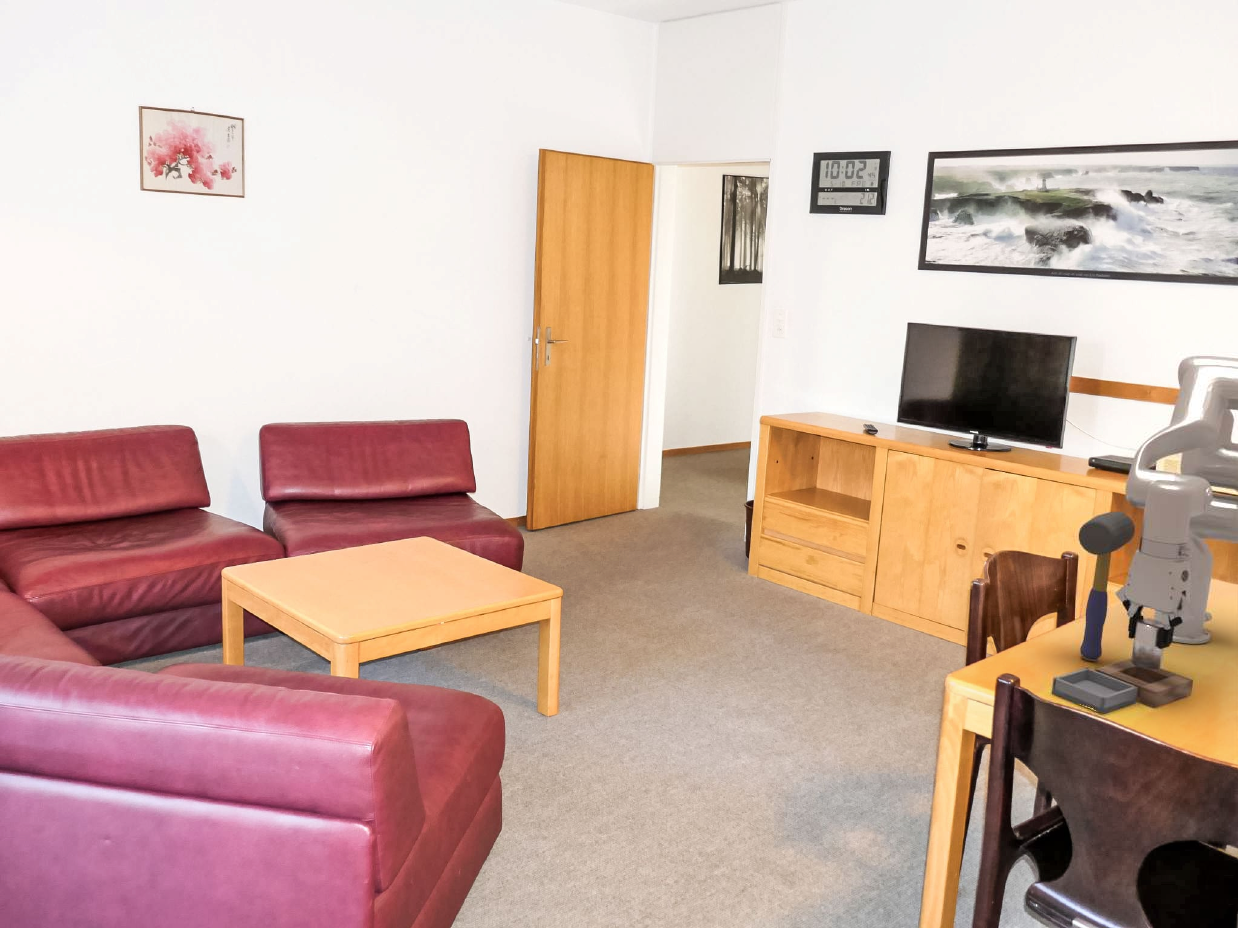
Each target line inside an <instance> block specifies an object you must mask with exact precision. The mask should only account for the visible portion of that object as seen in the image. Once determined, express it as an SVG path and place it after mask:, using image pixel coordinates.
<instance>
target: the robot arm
mask: <svg viewBox="0 0 1238 928" xmlns="http://www.w3.org/2000/svg"><path fill="white" fill-rule="evenodd" d="M1177 380H1178V385H1179V390H1178V394H1177V398H1176V401H1175V404H1174V408H1173V411H1172V415H1171V419H1170V423H1169V424H1168V426H1166V427H1164V428H1163V429H1161V430H1159V431H1158V432H1155V434H1153V435H1151V436H1150V437H1149V438H1148V439H1147V440H1146V441H1144V442H1143V443H1142V444H1141V446H1140V447H1139V448H1138V449H1137V451H1136V452H1135V454H1134V457H1133V459H1132V463H1131V466H1130V468H1129V472H1128V476H1127V479H1126V484H1125V499H1126V501H1127V502H1128V503H1129V504H1130V505H1131V506H1132V507H1135V508H1136V509H1137V508H1139V509H1143V510H1144V511H1143V518H1142V526H1141V530H1140V531H1141V532H1140V533H1141V534H1140V540H1139V545H1138V546H1139V547H1138V549H1136V550H1135V552H1134V555H1133V557H1132V559H1131V562H1130V564H1129V565H1130V566H1129V569H1128V572H1127V573H1128V574H1127V577H1126V581H1125V584H1124V585H1123V586H1122V587H1120V589H1118V590H1117V591H1116V592H1115V596H1116V597H1117V598H1118V600H1119V602H1121V603H1122V606H1123V607H1124V609H1125V610H1126V615H1127V617H1129V618H1128V619H1129V620H1128V628H1127V631H1128V639H1130V640H1132V639H1133V640H1134V636H1135V629H1136V622H1137V620H1138V619H1142V618H1144V615H1142V613H1143V610H1144V609H1145V608H1148V609H1151V610H1154V617H1153V619H1154V620H1158V621H1161V622H1163V627H1162V628H1160V630H1159V637H1158V644H1157V647H1158V648H1159V649H1163V650H1164V649H1166V648H1169V647H1170V646H1171V645H1172V643H1174V642H1175V643H1180V644H1189V645H1190V644H1192V645H1199V644H1206V643H1208V642H1210V640H1211V633H1210V632H1209V631H1208V630H1207V629H1205V628H1204V625H1205V623H1206V622H1210V621H1212V618H1213V615H1212V614H1211V613H1210V612H1208V611H1207V608H1208V607H1207V606H1208V600H1209V599H1208V598H1209V593H1210V588H1211V587H1210V586H1211V582H1212V575H1213V568H1214V556H1213V553H1212V550H1211V549H1210V547H1209V546H1208V544H1207V543H1206V541H1205V540H1204V539H1210V540H1217V541H1221V542H1229V543H1233V544H1234V543H1235V544H1238V496H1234V495H1227V494H1220V493H1216V492H1213V489H1212V487H1214V488H1219V489H1220V488H1221V489H1228V490H1234V491H1236V492H1237V493H1238V443H1236V442H1232V435H1233V434H1232V433H1233V428H1234V424H1235V417H1234V415H1233V412H1232V410H1234V411H1238V358H1234V357H1228V356H1227V357H1225V356H1214V355H1213V356H1212V355H1195V356H1194V355H1192V356H1188V357H1185V358H1183V359H1182V360H1181V362H1179V365H1178V369H1177ZM1178 454H1181V458H1180V473H1177V472H1172V471H1164V470H1163V471H1162V470H1155V469H1150V468H1151V467H1152V465H1154V464H1155V463H1156V462H1158V461H1159V460H1161V459H1164V458H1167V457H1170V456H1173V455H1178Z"/></svg>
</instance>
